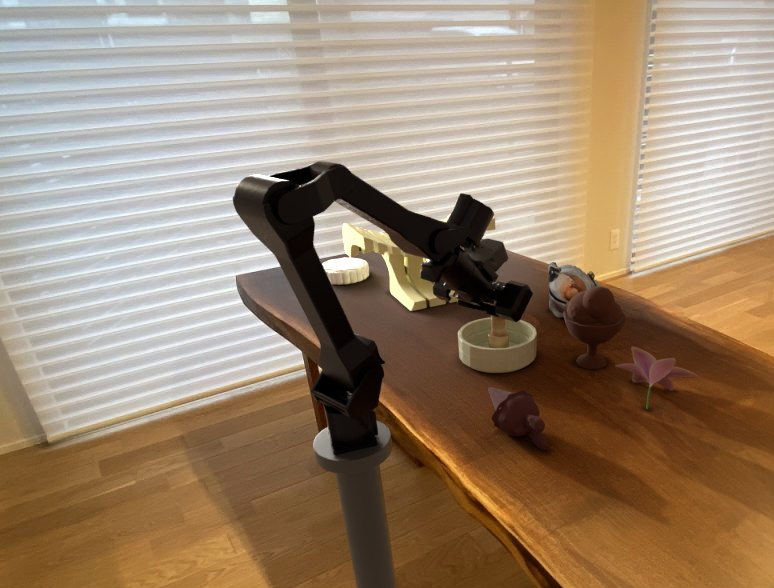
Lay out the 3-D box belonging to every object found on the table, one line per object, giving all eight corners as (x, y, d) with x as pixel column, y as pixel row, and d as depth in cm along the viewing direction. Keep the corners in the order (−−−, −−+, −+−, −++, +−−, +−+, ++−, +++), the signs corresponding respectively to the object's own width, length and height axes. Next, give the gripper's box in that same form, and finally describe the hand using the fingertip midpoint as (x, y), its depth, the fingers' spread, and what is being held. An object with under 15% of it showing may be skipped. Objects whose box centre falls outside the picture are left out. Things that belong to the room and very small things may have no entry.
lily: (702, 412, 100) (706, 353, 100) (661, 411, 92) (666, 346, 92) (640, 407, 108) (644, 352, 108) (598, 405, 100) (602, 346, 100)
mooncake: (310, 278, 154) (308, 264, 153) (348, 266, 163) (346, 252, 161) (341, 288, 148) (339, 274, 146) (379, 275, 156) (377, 261, 154)
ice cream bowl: (630, 357, 115) (637, 280, 108) (605, 382, 107) (611, 301, 99) (579, 344, 120) (582, 270, 112) (551, 367, 112) (553, 289, 104)
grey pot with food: (622, 315, 132) (618, 270, 120) (577, 345, 130) (569, 302, 119) (581, 277, 140) (573, 232, 129) (538, 305, 138) (526, 262, 127)
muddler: (507, 353, 112) (506, 291, 106) (487, 351, 113) (485, 290, 107) (510, 344, 116) (509, 283, 110) (490, 343, 116) (488, 282, 110)
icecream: (464, 382, 94) (518, 435, 84) (504, 360, 96) (562, 409, 86) (474, 414, 98) (526, 468, 88) (512, 392, 101) (567, 442, 90)
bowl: (474, 381, 107) (473, 355, 105) (449, 348, 119) (448, 324, 117) (548, 365, 112) (549, 341, 110) (518, 335, 124) (517, 312, 121)
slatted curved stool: (466, 273, 157) (463, 202, 148) (496, 292, 145) (495, 216, 136) (351, 295, 144) (340, 219, 135) (373, 319, 132) (363, 236, 123)
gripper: (526, 237, 95) (564, 285, 108) (439, 219, 105) (483, 264, 118) (495, 300, 94) (537, 341, 106) (409, 275, 104) (457, 315, 117)
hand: (502, 313), depth 112 cm, fingers closed on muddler, 2 cm apart
